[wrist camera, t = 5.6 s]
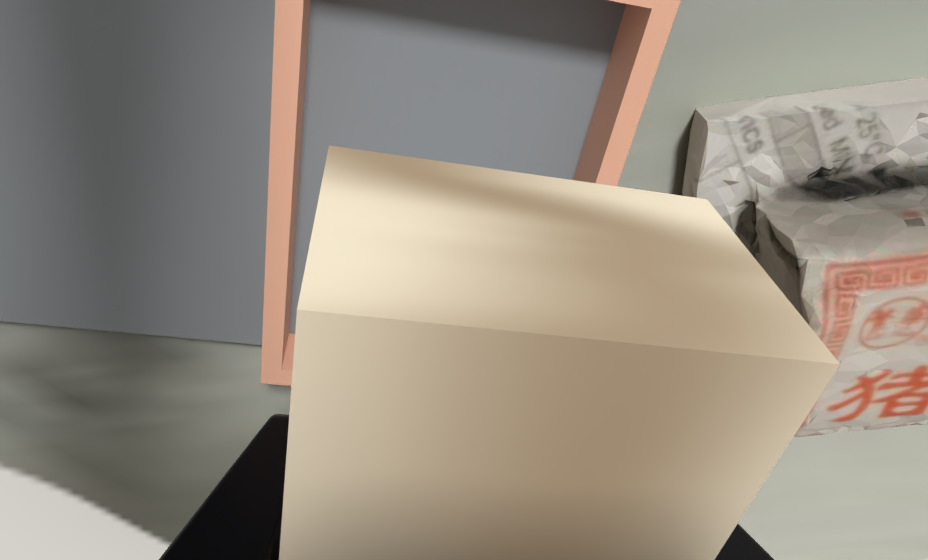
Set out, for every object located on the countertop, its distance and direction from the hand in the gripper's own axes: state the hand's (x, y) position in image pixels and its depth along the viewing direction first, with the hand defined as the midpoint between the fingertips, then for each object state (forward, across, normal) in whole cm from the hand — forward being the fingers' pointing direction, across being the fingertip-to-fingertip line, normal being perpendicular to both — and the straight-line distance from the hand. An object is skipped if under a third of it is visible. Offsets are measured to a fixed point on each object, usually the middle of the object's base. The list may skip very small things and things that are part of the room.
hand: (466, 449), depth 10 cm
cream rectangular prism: (+1, 0, 0) cm, 1 cm away
